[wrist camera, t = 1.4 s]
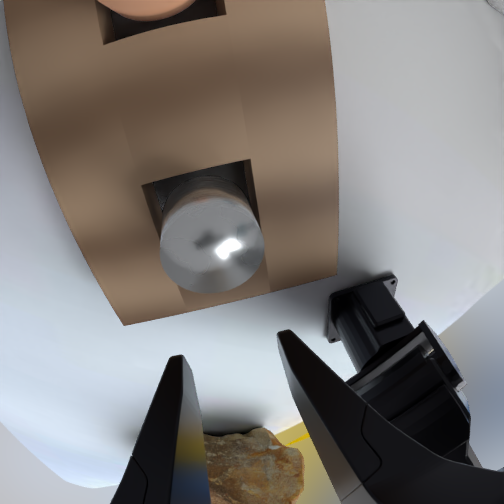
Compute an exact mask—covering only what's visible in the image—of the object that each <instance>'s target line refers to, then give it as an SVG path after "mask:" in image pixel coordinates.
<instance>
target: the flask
mask: <svg viewBox="0 0 504 504" xmlns="http://www.w3.org/2000/svg"><path fill="white" fill-rule="evenodd" d="M487 1H488V3H489V4H490V5H491V6H492V7H494V8H495V9H496V10H498V11H499V12H500V13H501V14H503V15H504V0H487Z"/></svg>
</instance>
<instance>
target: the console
mask: <svg viewBox="0 0 504 504" xmlns="http://www.w3.org/2000/svg"><path fill="white" fill-rule="evenodd" d="M3 1H4V11H5V19H6V26H7V33H8V39H9V45H10V51H11V56H12V61H13V65H14V70H15V74H16V79H17V83H18V87H19V91H20V95H21V98H22V102H23V106H24V109H25V113H26V116H27V119H28V123H29V126H30V129H31V132H32V135H33V138H34V141H35V144H36V147H37V150H38V153H39V155H40V158H41V161H42V164H43V166H44V169H45V171H46V174H47V177H48V179H49V182H50V184H51V187H52V189H53V191H54V194H55V196H56V199H57V201H58V203H59V205H60V208H61V210H62V212H63V214H64V217H65V219H66V221H67V223H68V225H69V227H70V230H71V232H72V234H73V236H74V238H75V240H76V242H77V244H78V246H79V248H80V250H81V252H82V254H83V256H84V258H85V260H86V261H87V263H88V265H89V267H90V269H91V271H92V273H93V275H94V276H95V278H96V280H97V282H98V284H99V285H100V287H101V289H102V291H103V292H104V294H105V296H106V298H107V299H108V301H109V303H110V304H111V306H112V308H113V309H114V311H115V313H116V314H117V316H118V317H119V319H120V321H121V322H122V324H123V325H124V326H126V325H131V324H136V323H141V322H146V321H150V320H155V319H160V318H164V317H169V316H174V315H178V314H183V313H187V312H192V311H196V310H200V309H205V308H209V307H213V306H218V305H222V304H226V303H230V302H234V301H238V300H243V299H247V298H251V297H255V296H259V295H263V294H267V293H271V292H275V291H278V290H282V289H286V288H290V287H294V286H298V285H301V284H305V283H309V282H313V281H316V280H320V279H324V278H327V277H331V276H335V275H337V260H338V224H339V175H338V139H337V118H336V102H335V88H334V76H333V65H332V55H331V45H330V37H329V28H328V21H327V13H326V6H325V0H215V2H216V8H217V14H218V16H216V17H210V18H204V19H199V20H193V21H188V22H184V23H179V24H175V25H170V26H166V27H162V28H158V29H154V30H151V31H147V32H143V33H140V34H137V35H133V36H130V37H127V38H124V39H121V40H118V41H116V38H115V33H114V28H113V23H112V18H111V12H110V8H108V7H107V6H105V5H103V4H102V3H100V2H99V1H97V0H3ZM241 160H243V165H244V171H245V177H246V183H247V189H248V195H249V201H250V207H251V209H252V212H253V214H254V216H255V219H256V221H257V223H258V226H259V228H260V230H261V233H262V235H263V238H264V245H265V249H264V256H263V259H262V262H261V264H260V266H259V268H258V269H257V270H256V272H255V273H254V274H253V275H252V276H251V277H250V278H249V279H248V280H247V281H246V282H244V283H243V284H241V285H239V286H237V287H235V288H233V289H231V290H228V291H224V292H219V293H198V292H193V291H190V290H187V289H185V288H183V287H181V286H179V285H177V284H176V283H175V282H174V281H172V280H171V279H170V278H169V277H168V275H167V274H166V272H165V271H164V269H163V267H162V264H161V260H160V240H161V227H162V215H163V213H162V210H161V207H160V204H159V201H158V198H157V195H156V192H155V188H154V185H153V182H154V181H158V180H162V179H165V178H169V177H173V176H177V175H181V174H185V173H189V172H193V171H197V170H201V169H205V168H210V167H214V166H218V165H223V164H227V163H232V162H236V161H241Z"/></svg>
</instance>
